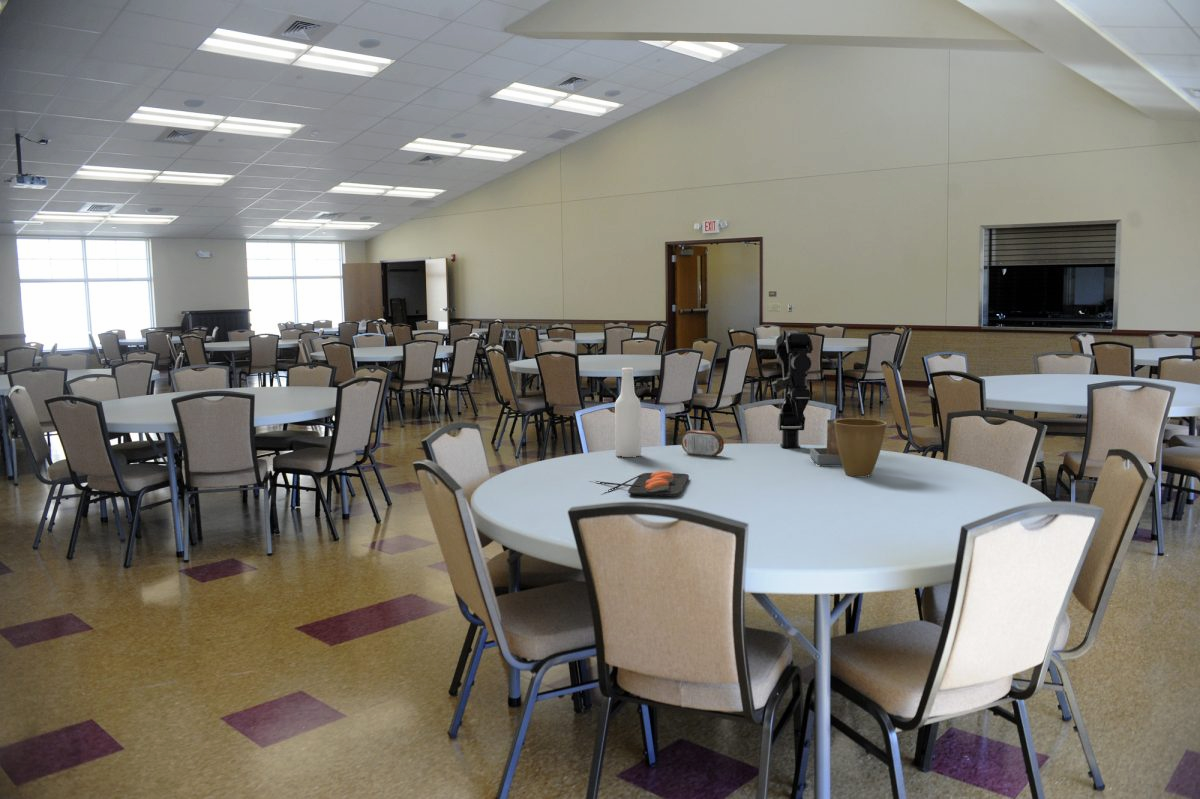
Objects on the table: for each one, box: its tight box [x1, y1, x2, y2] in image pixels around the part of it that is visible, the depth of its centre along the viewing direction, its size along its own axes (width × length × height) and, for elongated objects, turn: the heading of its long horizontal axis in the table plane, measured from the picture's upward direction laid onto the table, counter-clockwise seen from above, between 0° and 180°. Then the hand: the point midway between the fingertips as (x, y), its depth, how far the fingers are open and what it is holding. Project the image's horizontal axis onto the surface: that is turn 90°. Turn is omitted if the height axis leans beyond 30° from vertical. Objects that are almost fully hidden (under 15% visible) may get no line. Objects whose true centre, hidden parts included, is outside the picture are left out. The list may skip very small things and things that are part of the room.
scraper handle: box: [826, 418, 840, 455], centre depth 294 cm, size 4×4×13 cm
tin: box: [680, 429, 725, 457], centre depth 310 cm, size 15×3×8 cm, turn 58°
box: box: [809, 447, 842, 466], centre depth 294 cm, size 14×14×4 cm
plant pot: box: [834, 418, 887, 477], centre depth 272 cm, size 15×15×16 cm
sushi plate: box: [595, 470, 690, 497], centre depth 261 cm, size 29×30×4 cm
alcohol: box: [614, 367, 642, 458], centre depth 310 cm, size 9×9×30 cm
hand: (797, 416), depth 308 cm, fingers open, 9 cm apart
